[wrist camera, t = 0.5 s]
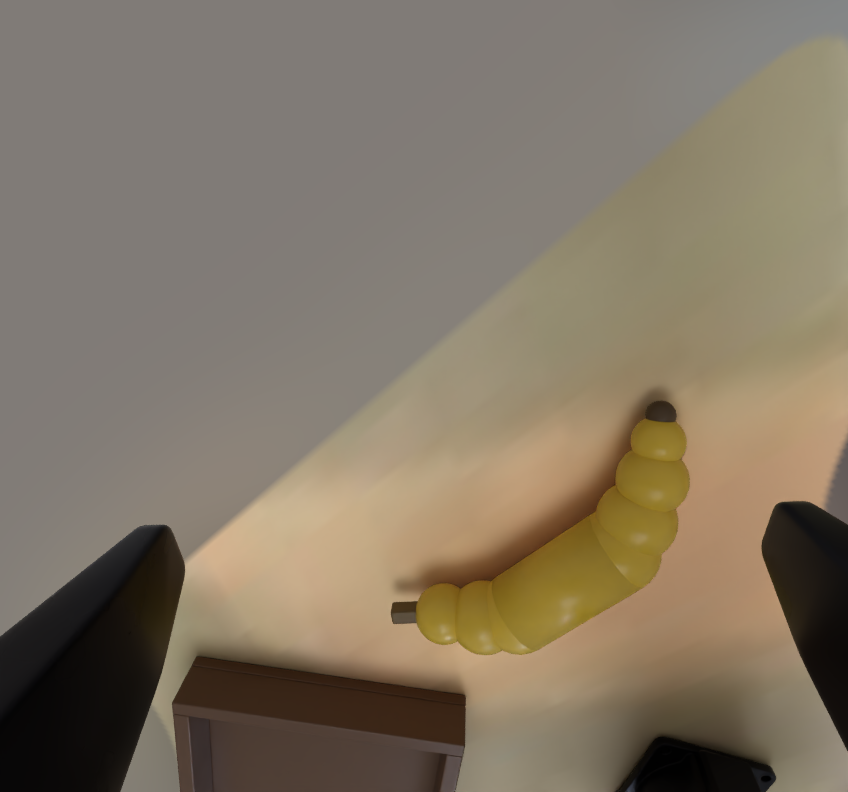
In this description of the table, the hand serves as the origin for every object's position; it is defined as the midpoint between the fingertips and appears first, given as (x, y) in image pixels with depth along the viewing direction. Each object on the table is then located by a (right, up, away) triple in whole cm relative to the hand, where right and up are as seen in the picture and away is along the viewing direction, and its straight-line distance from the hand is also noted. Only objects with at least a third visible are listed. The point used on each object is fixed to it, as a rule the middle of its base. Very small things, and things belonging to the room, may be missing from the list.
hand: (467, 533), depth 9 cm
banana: (+5, -4, +17) cm, 19 cm away
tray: (-7, -22, +26) cm, 35 cm away
